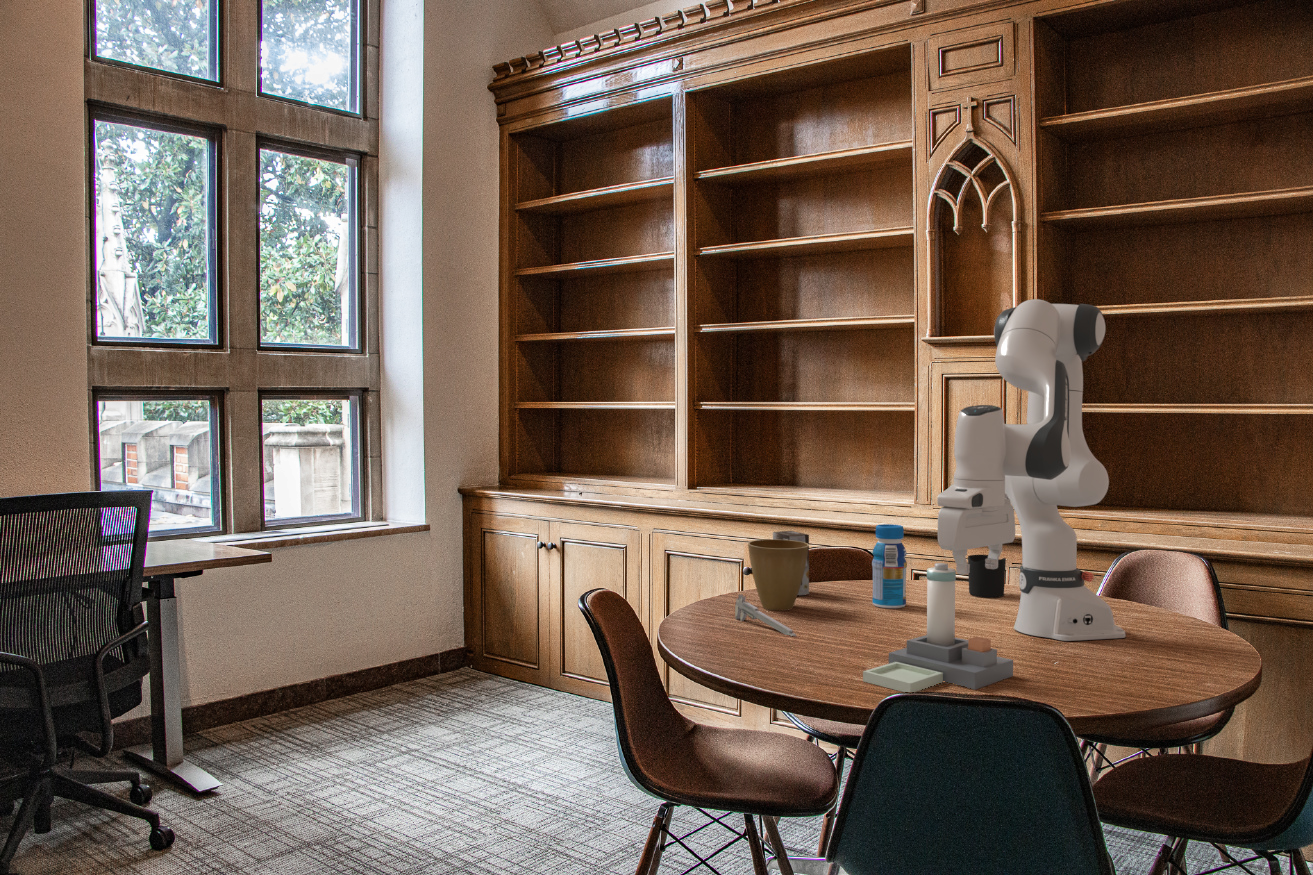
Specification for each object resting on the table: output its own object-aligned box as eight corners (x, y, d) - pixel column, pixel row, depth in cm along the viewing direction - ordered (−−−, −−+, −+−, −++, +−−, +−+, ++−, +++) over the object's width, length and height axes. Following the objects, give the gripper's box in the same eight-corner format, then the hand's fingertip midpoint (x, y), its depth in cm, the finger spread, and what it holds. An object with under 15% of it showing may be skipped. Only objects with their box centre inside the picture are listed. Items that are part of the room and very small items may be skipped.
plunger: (976, 652, 175) (976, 636, 175) (990, 655, 173) (990, 639, 173) (968, 655, 173) (968, 639, 173) (982, 658, 171) (982, 641, 171)
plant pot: (737, 609, 233) (737, 544, 232) (763, 599, 245) (763, 537, 245) (794, 616, 225) (794, 549, 224) (817, 605, 238) (818, 541, 237)
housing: (928, 656, 189) (928, 629, 188) (1013, 676, 175) (1013, 646, 175) (888, 668, 180) (888, 639, 180) (974, 689, 166) (975, 658, 166)
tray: (895, 671, 178) (895, 661, 178) (942, 682, 171) (942, 672, 171) (862, 681, 172) (862, 671, 172) (910, 693, 164) (910, 683, 164)
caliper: (734, 620, 222) (734, 593, 222) (738, 619, 223) (738, 593, 223) (792, 638, 205) (792, 609, 205) (796, 637, 206) (796, 608, 206)
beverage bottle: (865, 605, 238) (865, 525, 237) (884, 600, 244) (885, 522, 243) (894, 610, 232) (894, 528, 231) (913, 605, 237) (913, 525, 237)
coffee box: (810, 594, 251) (810, 534, 251) (789, 596, 249) (789, 535, 248) (792, 588, 260) (792, 530, 259) (771, 590, 257) (771, 531, 257)
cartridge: (950, 650, 182) (950, 561, 181) (958, 657, 176) (959, 566, 176) (922, 650, 182) (923, 561, 181) (930, 657, 176) (931, 566, 176)
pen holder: (1003, 592, 254) (1003, 555, 254) (1007, 599, 245) (1008, 560, 245) (966, 591, 256) (966, 554, 256) (969, 597, 247) (969, 559, 247)
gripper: (993, 491, 181) (992, 563, 182) (931, 496, 168) (930, 574, 169) (1025, 493, 177) (1023, 567, 177) (963, 499, 163) (961, 579, 164)
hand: (977, 571), depth 173 cm, fingers open, 8 cm apart
